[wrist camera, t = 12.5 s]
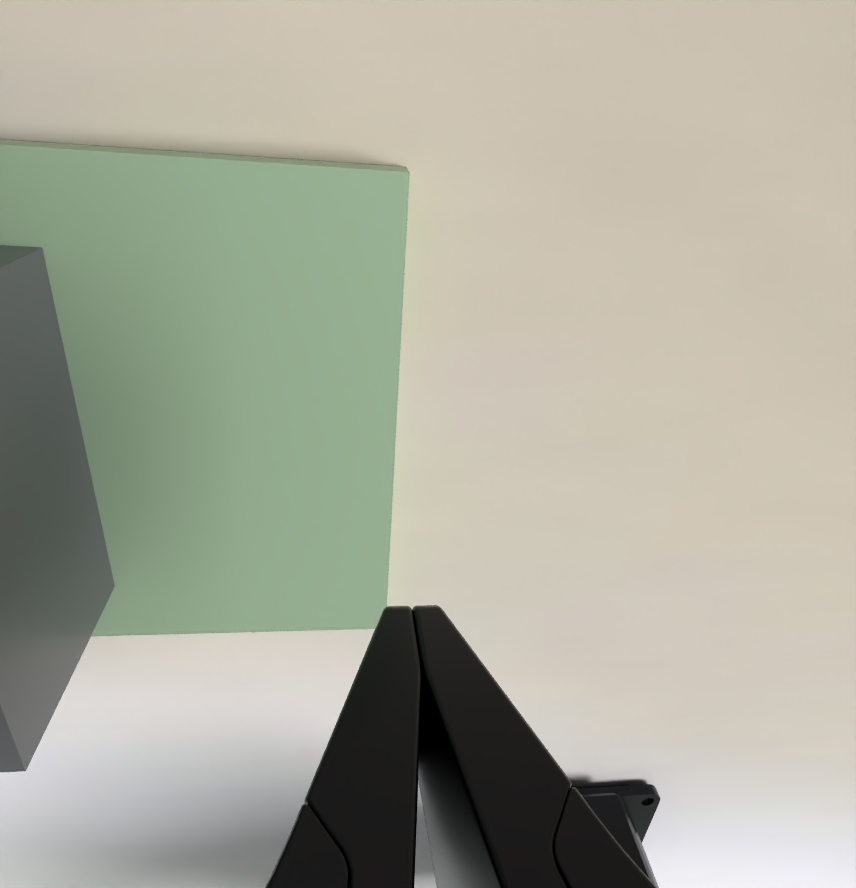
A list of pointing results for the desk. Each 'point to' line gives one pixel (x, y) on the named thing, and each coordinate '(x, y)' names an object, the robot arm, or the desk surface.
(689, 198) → the desk surface
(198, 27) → the desk surface
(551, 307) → the desk surface
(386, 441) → the board
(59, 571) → the grey c-shaped bracket
